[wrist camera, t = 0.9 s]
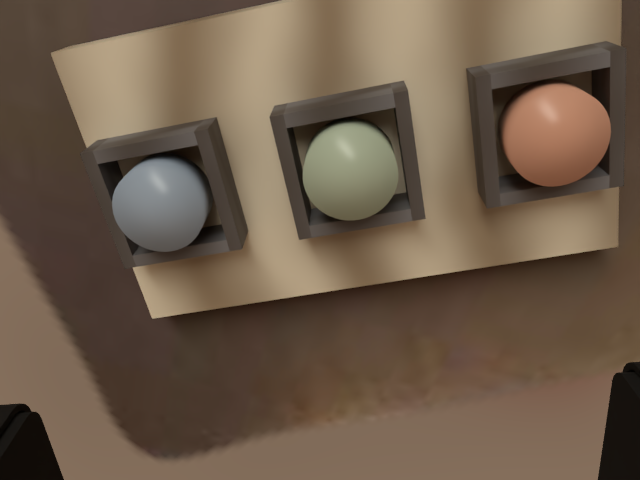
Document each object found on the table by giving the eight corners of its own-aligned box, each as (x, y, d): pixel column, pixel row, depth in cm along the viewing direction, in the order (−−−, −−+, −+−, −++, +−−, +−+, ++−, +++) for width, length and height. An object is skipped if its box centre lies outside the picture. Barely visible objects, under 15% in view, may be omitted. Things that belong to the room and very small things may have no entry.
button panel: (602, -70, 25) (645, -72, 21) (602, 229, 31) (635, 266, 27) (69, 46, 28) (28, 60, 24) (162, 299, 34) (140, 340, 30)
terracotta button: (591, 70, 25) (611, 80, 23) (592, 161, 26) (610, 177, 25) (493, 89, 25) (505, 100, 23) (500, 177, 27) (511, 193, 25)
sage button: (387, 109, 26) (390, 121, 24) (400, 194, 27) (404, 211, 26) (296, 126, 26) (293, 140, 24) (315, 209, 28) (313, 227, 26)
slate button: (198, 145, 27) (188, 159, 25) (222, 225, 28) (214, 244, 27) (115, 161, 27) (98, 176, 25) (143, 238, 29) (130, 258, 27)
